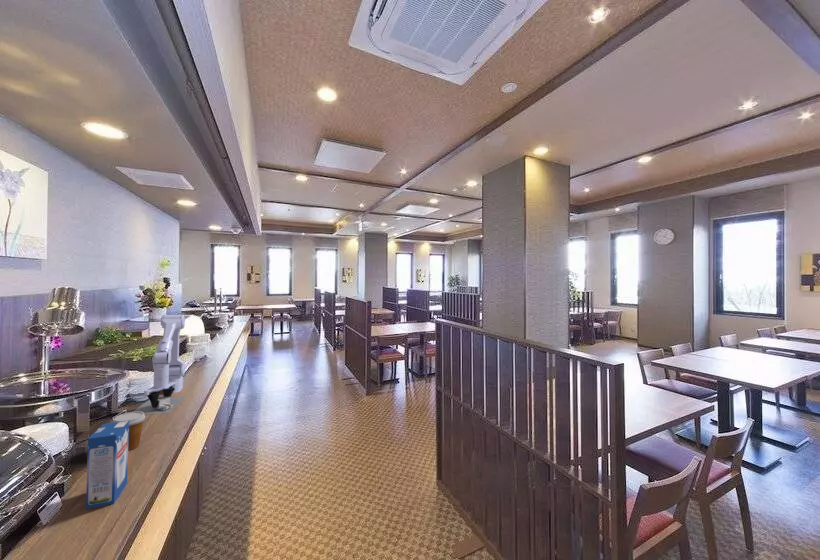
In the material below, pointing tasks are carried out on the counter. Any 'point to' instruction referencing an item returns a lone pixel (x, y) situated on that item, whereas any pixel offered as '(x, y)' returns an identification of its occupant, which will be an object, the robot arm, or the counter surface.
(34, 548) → the counter surface
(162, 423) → the counter surface
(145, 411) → the base plate
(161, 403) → the metal bracket with prongs
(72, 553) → the counter surface
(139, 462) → the counter surface
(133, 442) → the disposable coffee cup
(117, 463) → the milk carton
